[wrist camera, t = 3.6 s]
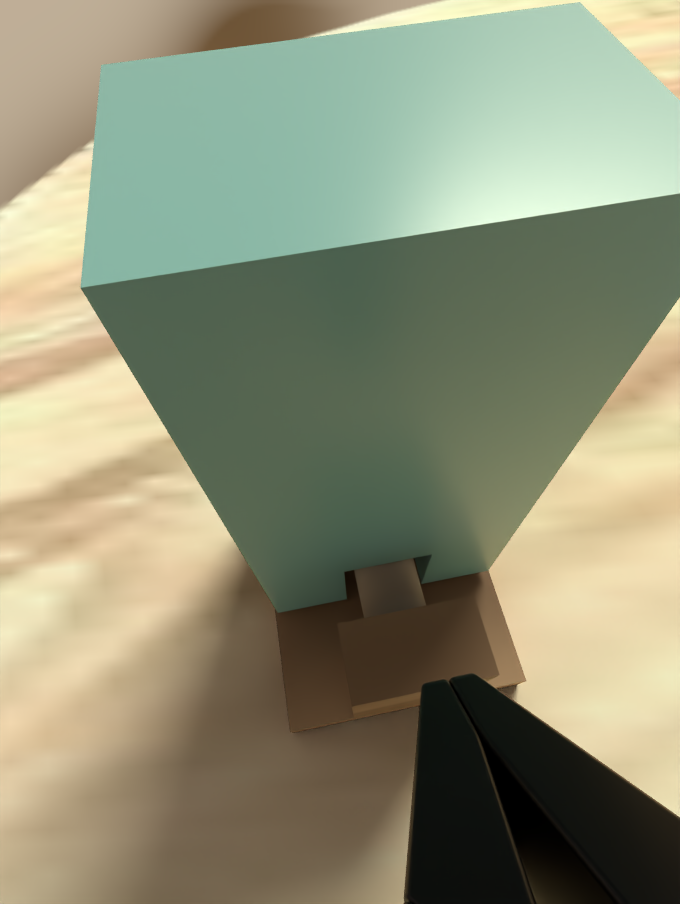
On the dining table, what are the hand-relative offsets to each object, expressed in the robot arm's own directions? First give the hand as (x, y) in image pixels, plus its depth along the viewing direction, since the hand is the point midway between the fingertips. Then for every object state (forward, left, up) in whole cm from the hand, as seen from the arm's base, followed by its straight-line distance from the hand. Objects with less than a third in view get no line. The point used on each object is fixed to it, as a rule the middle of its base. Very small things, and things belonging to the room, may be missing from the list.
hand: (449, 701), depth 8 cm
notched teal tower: (+5, +1, -6) cm, 8 cm away
